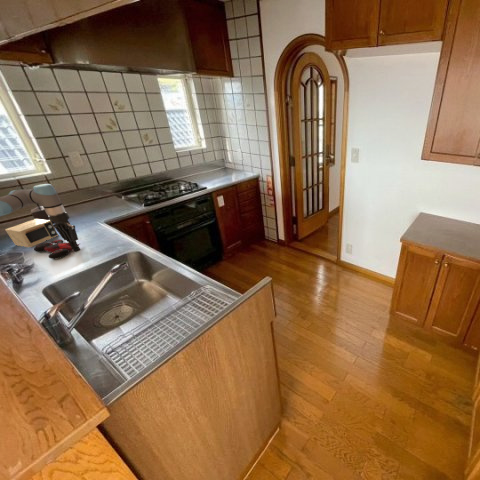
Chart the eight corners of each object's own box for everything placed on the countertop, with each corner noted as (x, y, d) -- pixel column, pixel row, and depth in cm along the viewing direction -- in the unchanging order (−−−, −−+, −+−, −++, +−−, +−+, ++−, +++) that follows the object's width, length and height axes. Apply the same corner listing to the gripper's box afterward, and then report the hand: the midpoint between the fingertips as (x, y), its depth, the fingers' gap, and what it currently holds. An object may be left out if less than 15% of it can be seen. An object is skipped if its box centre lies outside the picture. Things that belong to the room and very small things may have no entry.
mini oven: (15, 245, 161) (5, 229, 155) (45, 233, 174) (36, 218, 169) (31, 247, 158) (21, 231, 152) (60, 235, 171) (51, 220, 166)
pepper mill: (37, 225, 186) (23, 201, 177) (36, 221, 192) (23, 197, 184) (66, 218, 195) (54, 195, 187) (64, 215, 202) (52, 192, 194)
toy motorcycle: (56, 263, 145) (87, 246, 156) (50, 256, 142) (81, 239, 153) (36, 254, 155) (66, 238, 166) (29, 247, 152) (60, 232, 163)
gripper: (73, 211, 142) (92, 249, 153) (55, 209, 145) (75, 246, 156) (58, 217, 136) (79, 255, 147) (40, 215, 138) (61, 252, 150)
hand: (77, 250), depth 151 cm, fingers closed
